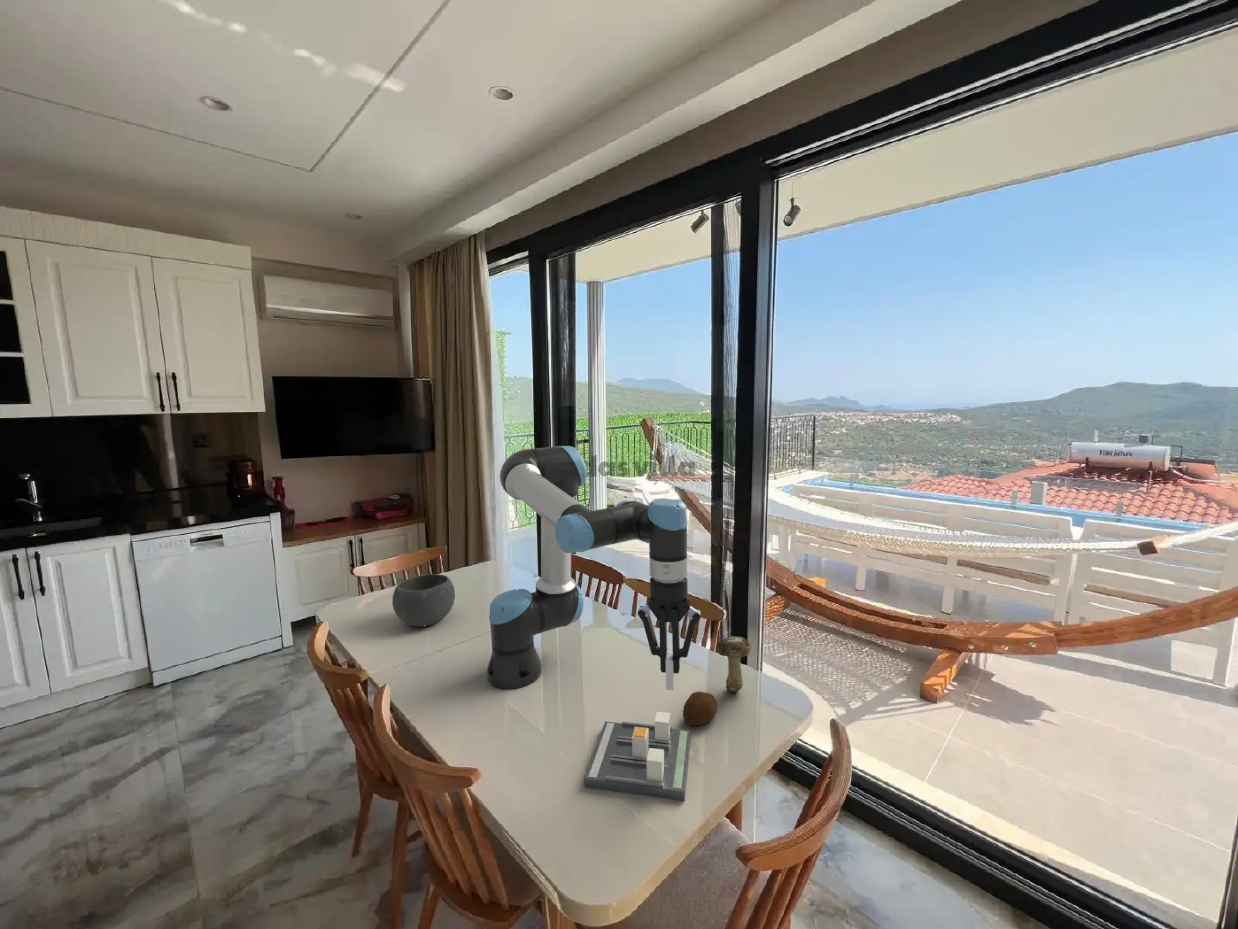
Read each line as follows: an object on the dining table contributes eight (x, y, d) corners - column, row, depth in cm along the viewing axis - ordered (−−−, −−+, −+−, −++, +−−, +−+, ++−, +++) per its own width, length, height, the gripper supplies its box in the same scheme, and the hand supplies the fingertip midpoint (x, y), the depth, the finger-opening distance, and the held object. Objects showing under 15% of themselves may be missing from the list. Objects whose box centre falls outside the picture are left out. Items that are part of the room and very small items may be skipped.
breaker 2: (647, 780, 100) (646, 760, 99) (649, 768, 103) (649, 748, 103) (662, 782, 99) (661, 762, 99) (664, 769, 103) (663, 749, 102)
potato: (725, 716, 123) (725, 689, 122) (700, 737, 116) (700, 709, 115) (702, 704, 128) (701, 678, 127) (676, 724, 120) (676, 696, 119)
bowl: (469, 617, 182) (466, 577, 180) (419, 641, 165) (416, 597, 163) (432, 605, 193) (429, 568, 191) (383, 627, 176) (379, 586, 174)
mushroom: (730, 706, 126) (730, 650, 124) (709, 689, 134) (709, 635, 132) (759, 695, 131) (760, 640, 129) (737, 679, 138) (737, 627, 136)
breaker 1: (655, 740, 112) (654, 721, 111) (657, 729, 115) (656, 711, 114) (668, 741, 111) (668, 723, 110) (670, 731, 114) (670, 713, 114)
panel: (584, 787, 102) (584, 775, 101) (605, 729, 119) (605, 719, 119) (684, 801, 98) (684, 788, 97) (690, 738, 115) (690, 728, 115)
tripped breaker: (632, 757, 107) (631, 736, 106) (635, 745, 110) (634, 725, 109) (646, 758, 106) (646, 737, 105) (649, 747, 109) (648, 727, 109)
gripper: (633, 582, 99) (636, 694, 102) (700, 585, 96) (701, 700, 100) (639, 569, 106) (642, 674, 109) (702, 571, 104) (703, 679, 107)
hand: (670, 686), depth 104 cm, fingers closed
